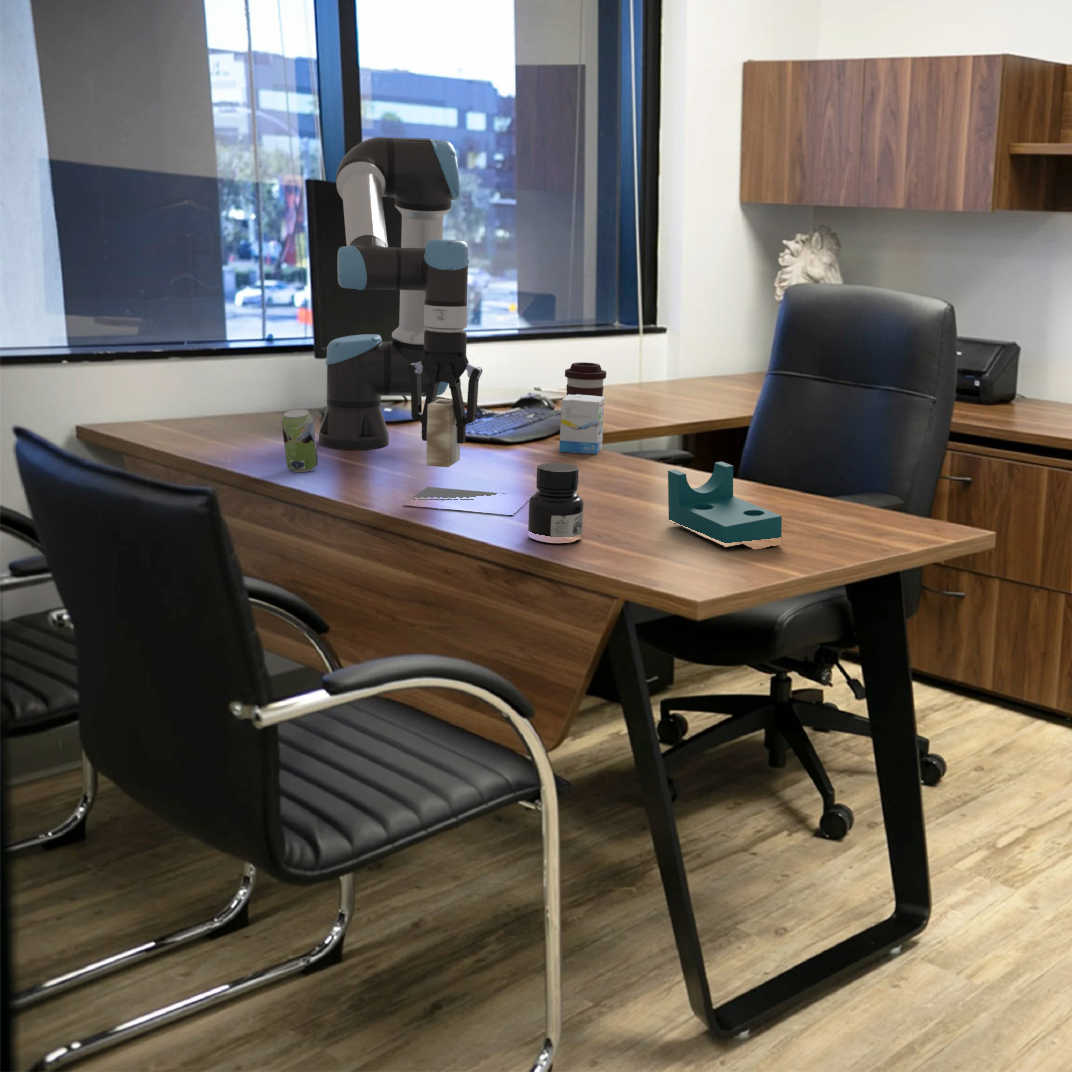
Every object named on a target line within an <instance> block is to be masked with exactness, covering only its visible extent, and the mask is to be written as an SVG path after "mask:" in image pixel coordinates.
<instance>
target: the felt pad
mask: <svg viewBox="0 0 1072 1072" xmlns="http://www.w3.org/2000/svg"><path fill="white" fill-rule="evenodd" d="M497 493H498V492H493V491H480V490H468V489H459V488H449V487H448V488H447V487H435V486H427V487H425V488H423V489H422V490H420V491H419V492H418V493H417V494H415V495H413V496H412V497H411V498H415V497H417V498H421V497H423V498H427V497H431V498H433V497H437V498H440V497H442V498H448V497H449V498H456V497H459V498H463V497H466V498H469V497H476V496H484V495H486V496H491V495H496V494H497ZM501 493H502V494H506V493H505V492H504V493H503V492H501ZM411 498H410V499H411ZM449 498H448V499H418V500H442V501H443V500H452V499H449ZM410 499H408V500H409V501H410ZM412 500H416V499H412ZM453 500H458V499H453ZM460 500H474V499H460Z"/></svg>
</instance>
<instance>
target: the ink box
mask: <svg viewBox="0 0 1072 1072" xmlns="http://www.w3.org/2000/svg"><path fill="white" fill-rule="evenodd" d="M605 397H606V396H602V397H601V396H590V395H579V394H576V395H569V394H568V395H567V394H566V396H564V397H563V398H562V399H561V408H560V428H559V430H560V431H559V447H558V448H559V449H558V451H559V452H560V453H561V452H562V453H574V454H588V455H597V454H598V453H599V452H600V450H602V449H603V442H604V441H603V439H604V438H603V437H604V435H603V434H604V418H605V417H604V416H605Z"/></svg>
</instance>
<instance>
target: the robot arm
mask: <svg viewBox="0 0 1072 1072" xmlns="http://www.w3.org/2000/svg"><path fill="white" fill-rule="evenodd" d="M335 176H336V177H335V179H336V180H335V183H336V191H337V193H338V195H339V196H340V198H341V200H342V202H343V203H342V206H343V218H344V219H343V220H344V228H345V230H344V232H345V241H346V242H345V243H346V246H340V247H339V249H338V250H337V260H336V261H337V266H336V267H337V282H338V285H339V287H340V288H343V289H353V290H358V291H362V290H381V291H382V290H384V291H385V290H389V291H390V290H392V291H394V290H395V291H396V290H397V291H399V317H398V318H399V321H398V327H397V328H395V329H394V330H393V331H392V333H391V341H383V339H382V337H381V335H380V334H376V333H373V334H372V333H371V334H368V333H366V334H355V335H353V334H352V335H348V336H347V335H346V336H341V337H339V338H335V339H333V340H330V342H329V343H328V345H326V360H325V365H326V409H325V412H324V416H323V418H322V421H321V425H320V428H319V431H318V444H319V445H321V446H324V447H326V448H332V449H339V450H371V449H378V448H384V447H385V446H386V447H387V446H388V445H389V443H390V441H389V439H390V437H389V435H390V434H389V431H388V426H387V424H386V420H385V417H384V414H383V411H382V396H385V397H387V396H389V397H393V396H394V397H410V407H411V408H410V412H411V413H410V414H411V419H413V420H416V421H418V422H420V423H421V440H422V442H423V441H424V442H427V410H428V404H430V403H432V402H434V401H436V399H437V396H441V395H443V394H444V393H445V392H446V391H447V389H448V388H449V390H450V395H451V400H452V401H453V407H454V412H455V418H456V424H455V425H454V426H452V462H456V463H457V462H458V461H460V459H461V444H464V443H465V441H466V440H467V439H466V437H467V436H466V433H467V431H466V430H467V425H469V424H473V423H474V422H475V421H476V420H477V415H478V413H477V412H478V396H479V395H478V394H479V381H480V378H481V376H482V374H483V368H482V367H481V366H477V367H476V366H474V365H473V364H470V362H469V359H468V358H467V340H468V339H467V338H468V337H467V336H468V334H467V332H466V331H465V330H464V329H466V328H467V326H468V281H469V279H468V278H469V275H468V274H469V264H470V258H469V246H468V243H467V242H466V241H464V240H459V239H443V238H444V235H443V234H444V217H445V215H447V213H448V212H450V210H452V201H456V200H458V199H459V198H460V189H461V186H460V175H459V166H458V158H457V153H456V149H455V147H454V145H453V144H452V143H451V142H450V141H448V140H444V139H443V140H442V139H434V138H418V137H415V138H413V137H386V136H378V137H373V138H372V137H371V138H368V139H366V140H363V141H361V142H359V143H358V144H357V145H355V146H353V147H352V148H351V149H350V150H349V151H348V152H347V153H346V154H345V155H344V156H343V158H342V159H341V161H340V162H339V164H338V167H337V170H336V175H335ZM383 197H385V198H394V207H395V209H397V210H398V212H399V213H400V214H401V238H400V239H401V240H400V242H401V243H400V247H398V246H397V247H393V246H392V247H390V246H389V244H388V238H387V237H388V236H387V230H386V229H387V228H386V218H385V210H384V203H383ZM465 371H466V372H467V374H466V375H467V377H468V378H469V379H468V385H467V399H466V400H467V401H466V409H465V406H464V398H463V393H462V388H461V387H462V382H461V377H462V376H463V374H464V373H465ZM423 398H425V399H424V404H423V405H422V403H423V400H422V399H423ZM422 406H423V407H422ZM426 461H427V452H426Z"/></svg>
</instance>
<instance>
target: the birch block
mask: <svg viewBox="0 0 1072 1072" xmlns="http://www.w3.org/2000/svg"><path fill="white" fill-rule="evenodd" d="M455 424H456V418H455V412H454V407H453V401H452V399H445V398H443V399H442V398H438V399H437V400H435V401H434V402H432V403H430V404H428V410H427V441H426V453H427V460H426V466H427V467H428V466H429V467H438V468H450V467H451V466H453V465H454V464H456V463H457V462H452V426H454V425H455Z"/></svg>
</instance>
